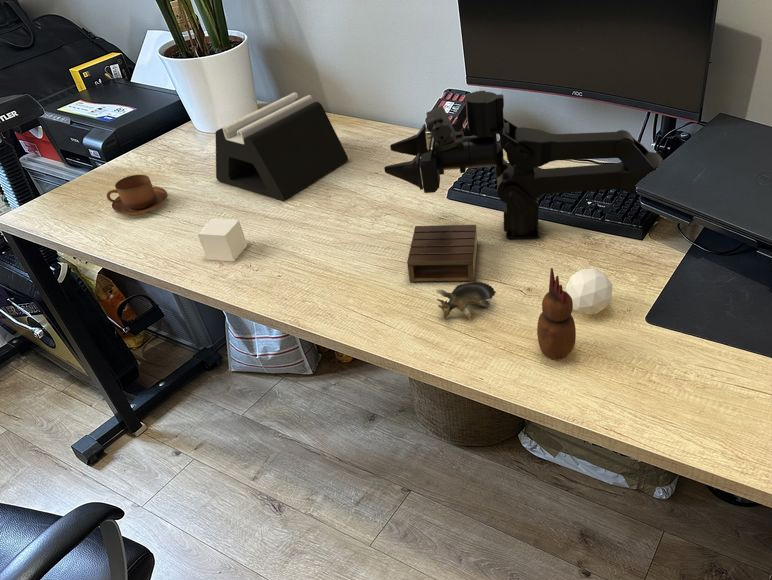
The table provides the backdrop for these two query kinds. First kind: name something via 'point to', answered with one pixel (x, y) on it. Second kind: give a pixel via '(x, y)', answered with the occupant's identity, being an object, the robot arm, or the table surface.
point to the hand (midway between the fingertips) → (387, 158)
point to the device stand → (278, 148)
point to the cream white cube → (222, 239)
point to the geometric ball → (589, 291)
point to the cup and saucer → (136, 195)
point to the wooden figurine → (556, 322)
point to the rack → (443, 253)
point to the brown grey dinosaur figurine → (466, 297)
